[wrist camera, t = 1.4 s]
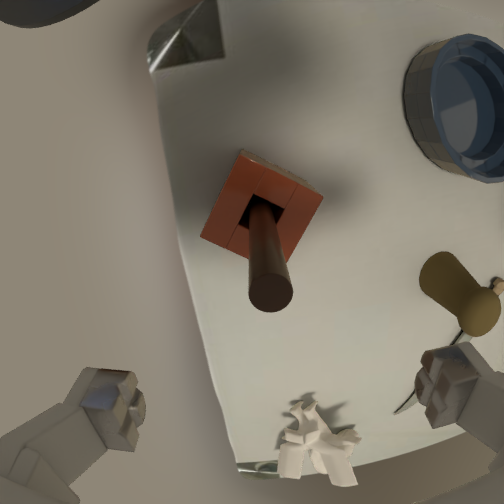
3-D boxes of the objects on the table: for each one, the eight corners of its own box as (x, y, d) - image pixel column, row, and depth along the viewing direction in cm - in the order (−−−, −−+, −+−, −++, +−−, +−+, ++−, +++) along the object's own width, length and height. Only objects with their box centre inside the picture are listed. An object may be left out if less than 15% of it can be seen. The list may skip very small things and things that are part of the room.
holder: (211, 211, 32) (199, 237, 25) (242, 148, 30) (239, 153, 23) (273, 241, 33) (280, 274, 26) (306, 180, 31) (324, 196, 24)
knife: (409, 419, 44) (390, 418, 43) (405, 412, 45) (386, 411, 44) (514, 289, 35) (503, 279, 33) (508, 284, 36) (496, 274, 35)
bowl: (379, 124, 29) (405, 124, 23) (429, 19, 24) (458, 5, 19) (473, 197, 31) (504, 210, 26) (514, 99, 27) (545, 100, 21)
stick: (246, 199, 32) (240, 303, 13) (254, 183, 31) (261, 266, 13) (262, 207, 32) (279, 319, 13) (270, 191, 32) (301, 284, 13)
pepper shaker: (429, 247, 34) (482, 290, 23) (464, 255, 34) (517, 296, 24) (412, 293, 36) (455, 345, 26) (447, 298, 36) (492, 346, 26)
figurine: (291, 382, 50) (321, 443, 49) (244, 422, 42) (282, 486, 41) (371, 374, 39) (396, 444, 39) (329, 429, 31) (363, 500, 31)
